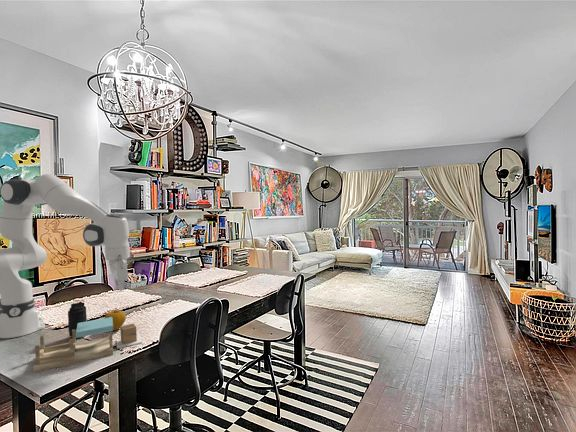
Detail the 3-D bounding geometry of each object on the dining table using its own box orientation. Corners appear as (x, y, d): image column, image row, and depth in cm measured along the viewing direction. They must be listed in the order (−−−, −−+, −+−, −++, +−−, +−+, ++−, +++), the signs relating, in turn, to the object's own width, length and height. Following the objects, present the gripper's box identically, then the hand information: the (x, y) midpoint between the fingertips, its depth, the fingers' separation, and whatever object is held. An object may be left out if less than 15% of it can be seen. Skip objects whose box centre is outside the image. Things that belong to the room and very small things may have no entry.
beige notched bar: (40, 356, 122) (39, 334, 122) (112, 340, 134) (111, 321, 134) (33, 372, 110) (32, 348, 110) (113, 354, 122) (112, 332, 122)
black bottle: (78, 340, 136) (76, 305, 135) (65, 339, 137) (63, 304, 137) (91, 333, 143) (90, 300, 142) (79, 332, 144) (77, 299, 144)
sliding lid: (78, 328, 127) (77, 323, 127) (112, 321, 133) (112, 316, 133) (76, 337, 117) (75, 332, 117) (113, 330, 123) (113, 325, 123)
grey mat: (116, 340, 135) (116, 339, 134) (139, 335, 139) (139, 334, 139) (117, 348, 127) (117, 347, 127) (142, 343, 131) (141, 342, 131)
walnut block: (120, 340, 133) (120, 326, 133) (133, 337, 136) (133, 323, 136) (123, 344, 129) (122, 329, 129) (136, 340, 132) (136, 326, 132)
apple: (121, 333, 142) (120, 313, 142) (100, 334, 141) (99, 314, 141) (129, 325, 151) (128, 306, 151) (109, 326, 150) (108, 307, 150)
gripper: (131, 256, 123) (132, 291, 124) (122, 250, 140) (124, 281, 141) (112, 258, 120) (114, 294, 120) (106, 252, 136) (107, 284, 137)
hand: (119, 287), depth 131 cm, fingers open, 8 cm apart
